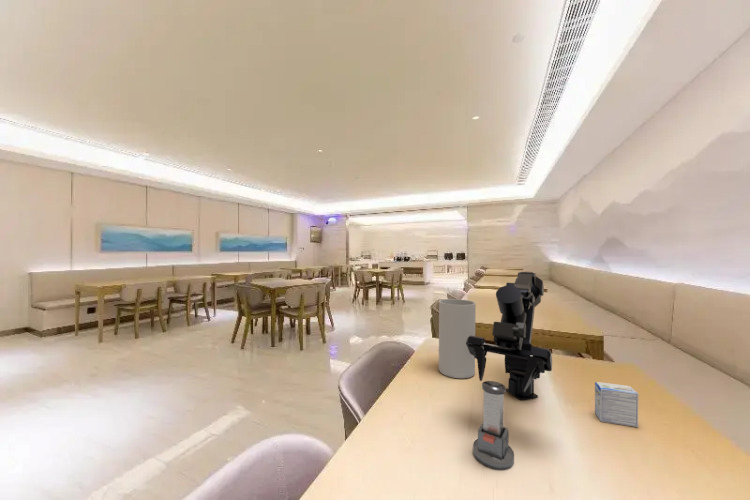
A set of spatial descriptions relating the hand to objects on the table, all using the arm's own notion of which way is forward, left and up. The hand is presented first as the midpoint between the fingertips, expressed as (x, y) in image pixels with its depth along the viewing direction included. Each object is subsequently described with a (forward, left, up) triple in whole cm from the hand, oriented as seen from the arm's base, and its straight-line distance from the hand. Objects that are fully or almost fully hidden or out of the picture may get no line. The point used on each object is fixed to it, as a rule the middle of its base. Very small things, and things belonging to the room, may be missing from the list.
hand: (500, 385), depth 68 cm
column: (+5, +4, -11) cm, 13 cm away
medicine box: (-35, +1, -13) cm, 37 cm away
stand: (+5, +4, -13) cm, 14 cm away
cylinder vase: (-12, -37, -13) cm, 41 cm away
